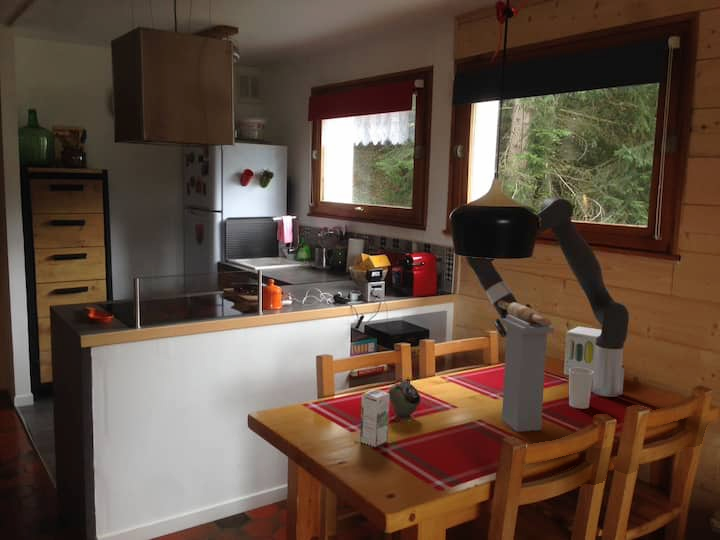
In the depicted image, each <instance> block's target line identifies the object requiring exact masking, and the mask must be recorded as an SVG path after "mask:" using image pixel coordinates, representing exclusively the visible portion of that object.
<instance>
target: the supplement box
mask: <svg viewBox="0 0 720 540" xmlns="http://www.w3.org/2000/svg"><path fill="white" fill-rule="evenodd" d="M601 330H602V329H598V328H592V327H587V326H586V327H585V326H579V325H578V326H576V327H575V328H572V329H570V330H567V331H566V337H565V349H564V350H565V353H564V364H563V365H564V368H563V375H564V376H568V375H569V369H570V368H575V367H579V368H586V369H590V370H592V371H594V361H595V347H596V338H597V337H598V336H600V335H601Z"/></svg>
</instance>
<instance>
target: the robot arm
mask: <svg viewBox="0 0 720 540" xmlns="http://www.w3.org/2000/svg"><path fill="white" fill-rule="evenodd" d="M537 214H538V215H539V216H540V218H541V229H540V232H539V234H538V235H540V234H541V233H544V232H546V231H549V230H550V231H551V232H552V234H553V236H555V238H556V240H557V242H558V245H559V247H560V249H561V251H562V254H563V255H564V258H565V259H566V262H567V264H568V266H569V268H570V270H571V272H572V273H573V275H574V276H575V278H576V280H577V282H578V284H579V286H580V287H581V289H582V290H583V292H584V293H585V296H586V298H587V300H588V303H589V305H590V308H591V310H592V312H593V313H592V314H593V316H594V317H595V319H596V321H597V322H598V323H599V324H601V329H600V330H601V335H600V336H598V337H597V338H596V347H595V361H594V375H593V381H592V388H591V393H593V394H594V395H597V396H601V397H607V398H608V397H609V398H610V397H611V398H613V397H614V398H615V397H619V396H622V395H623V389H624V388H623V387H624V377H625V368H624V367H623V355H624V346H625V345H624V344H625V342H626V340H627V337H628V329H629V321H630V320H629V319H630V317H629V316H630V315H629V311H628V308H627V307H626V306H625V305H623V304H622V303H619V302H617V301H615V300H614V299H613V298H612V296H611V295H610V293H609V291H608V289H607V287H606V286H605V282H604V278H603V273H602V268H601V264H600V263H599V260H598V258H597V257H596V254H595V252H594V250H593V249H592V248H591V246H590V244H588V242H587V241H586V240H585V239H584V237H583V236H582V235H581V234H580V232H579V231H578V230H577V229H576V227H575V226H574V223H573V222H572V220H571V219H572V217H573V214H574V206H573V205H572V203H571V202H570V201H569V200H567V199H565V198H563V197H558V196H551V197H550V196H549V197H548V198H546V199H544V200H543V202H542V203H541V205H540V211H539V212H538V213H537ZM465 259H466V263H467V265H468V267H470V268H471V269H472V270H473V272H474V274H476V276H477V279H478V281H479V283H480V285H481V287H482V288H483V290H484V291H485V293H486V295H487V298H488V299H489V301H490V303H491V304H492V305H493V308H494V309H495V311H496V312H497V314H498V316H500V318H496V319H495V321H494V322H493V324H494V326H495V328H496V330H497V331H498V333H499V335H500V337H501V338H506V333H507V326H506V327H504V325H503V324H501V318H506V315H509V314H508V311H507V310H506V309H504V308H501V307H499V306H498V302H499V301H504V302H507V303H509V304H510V303H512V302H516V303H519V301H518V300H517V299H516V297H515V295H514V294H513V292H512V291H511V289H510V287H509V286H508V285H507V284H506V283H505V282H504V279H503V278H502V276H501V275H500V273H499V272H498V271H497V269H496V267H495V266H494V264H493V261H495V259H486V258H472V257H466V256H465ZM524 306H526V307H529V308H531V309H533V307H531V305H530V303H526V304H525V305H524Z"/></svg>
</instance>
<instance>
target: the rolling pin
mask: <svg viewBox="0 0 720 540" xmlns="http://www.w3.org/2000/svg"><path fill="white" fill-rule="evenodd" d="M498 306H499V307H501V308H504V309H506V310H507V311H508V314H509V315H511V316H514V317H516V318H518V319H520V320H523V321H525V322H527V323H529V324H534V323H538V324H541V325H543V326H545V327H549V326H552V320H551V319H548V318H546V317H545V316H544V317H543V316H541V315H540V314H539V312H538V310H536V309H534V308H532V307H531V308H532V309H531V308H529V307H526V306H525V305H523V304H521V303H519V302H518V303H516V302H512V303H510V304H509V303H507V302H504V301H499V302H498Z"/></svg>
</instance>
